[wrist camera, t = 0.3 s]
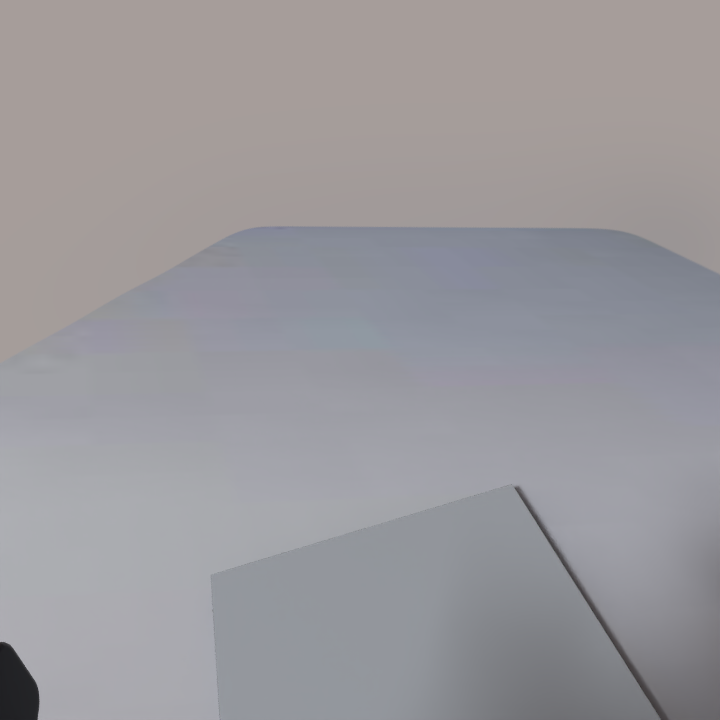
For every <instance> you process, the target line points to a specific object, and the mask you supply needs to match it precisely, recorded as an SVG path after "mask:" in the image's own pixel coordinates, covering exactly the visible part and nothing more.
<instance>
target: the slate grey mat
mask: <svg viewBox="0 0 720 720" xmlns="http://www.w3.org/2000/svg"><path fill="white" fill-rule="evenodd" d="M211 589H212V605H213V621H214V637H215V653H216V669H217V685H218V702H219V718H220V720H661V719H660V717H659V716H658V714H657V713H656V711H655V709H654V708H653V706H652V705H651V703H650V702H649V700H648V698H647V697H646V695H645V694H644V692H643V691H642V689H641V687H640V686H639V684H638V683H637V681H636V679H635V678H634V676H633V675H632V673H631V672H630V670H629V668H628V667H627V665H626V664H625V662H624V660H623V659H622V657H621V656H620V654H619V653H618V651H617V649H616V648H615V646H614V645H613V643H612V641H611V640H610V638H609V637H608V635H607V634H606V632H605V630H604V629H603V627H602V626H601V624H600V622H599V621H598V619H597V618H596V616H595V615H594V613H593V611H592V610H591V608H590V607H589V605H588V603H587V602H586V600H585V599H584V597H583V596H582V594H581V592H580V591H579V589H578V588H577V586H576V585H575V583H574V581H573V580H572V578H571V577H570V575H569V573H568V572H567V570H566V569H565V567H564V566H563V564H562V562H561V561H560V559H559V558H558V556H557V554H556V553H555V551H554V550H553V548H552V547H551V545H550V543H549V542H548V540H547V539H546V537H545V535H544V534H543V532H542V531H541V529H540V528H539V526H538V524H537V523H536V521H535V520H534V518H533V516H532V515H531V513H530V512H529V510H528V509H527V507H526V505H525V504H524V502H523V501H522V499H521V498H520V496H519V494H518V493H517V491H516V490H515V488H514V486H513V485H512V484H511V485H508V486H504V487H501V488H498V489H494V490H491V491H488V492H484V493H481V494H478V495H474V496H471V497H468V498H465V499H461V500H458V501H455V502H451V503H448V504H445V505H441V506H438V507H435V508H431V509H428V510H425V511H421V512H418V513H415V514H411V515H408V516H405V517H401V518H398V519H395V520H391V521H388V522H385V523H381V524H378V525H375V526H371V527H368V528H365V529H361V530H358V531H355V532H351V533H348V534H345V535H341V536H338V537H335V538H332V539H328V540H325V541H322V542H318V543H315V544H312V545H308V546H305V547H302V548H298V549H295V550H292V551H288V552H285V553H282V554H278V555H275V556H272V557H268V558H265V559H262V560H258V561H255V562H252V563H248V564H245V565H242V566H238V567H235V568H232V569H228V570H225V571H222V572H218V573H215V574H212V575H211Z"/></svg>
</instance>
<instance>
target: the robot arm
mask: <svg viewBox="0 0 720 720" xmlns="http://www.w3.org/2000/svg"><path fill="white" fill-rule="evenodd" d="M38 712H39V691H38V687H37V684H36V682H35V680H34V679H33V677H32V676H31V674H30V673H29V671H28V670H27V668H26V667H25V665H24V664H23V662H22V661H21V659H20V658H19V656H18V655H17V653H16V652H15V650H14V649H13V648H12V647H11V645H9V644H7V643H5V642H0V720H38Z"/></svg>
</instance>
